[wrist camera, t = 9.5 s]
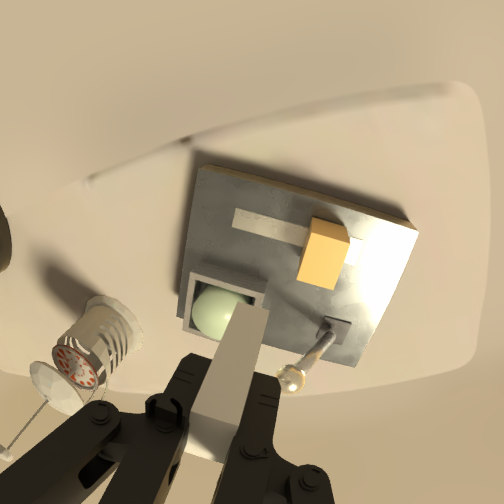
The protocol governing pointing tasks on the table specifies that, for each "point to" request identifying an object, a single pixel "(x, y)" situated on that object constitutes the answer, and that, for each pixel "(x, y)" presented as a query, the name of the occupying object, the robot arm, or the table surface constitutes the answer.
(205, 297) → the push button
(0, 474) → the robot arm
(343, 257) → the yellow cube
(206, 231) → the panel
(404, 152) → the table surface
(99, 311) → the french press
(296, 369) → the toggle lever
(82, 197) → the table surface
